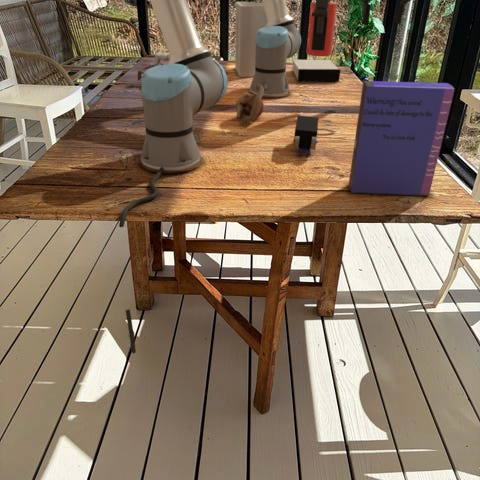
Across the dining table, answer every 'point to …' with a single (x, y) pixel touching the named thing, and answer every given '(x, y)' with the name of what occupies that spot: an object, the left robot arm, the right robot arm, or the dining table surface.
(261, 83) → the right robot arm
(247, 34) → the tall cream pillar
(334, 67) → the disc drive
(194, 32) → the left robot arm
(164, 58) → the toy
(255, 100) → the brown lumpy shape
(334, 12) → the can
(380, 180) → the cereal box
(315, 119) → the figurine character
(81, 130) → the dining table surface
